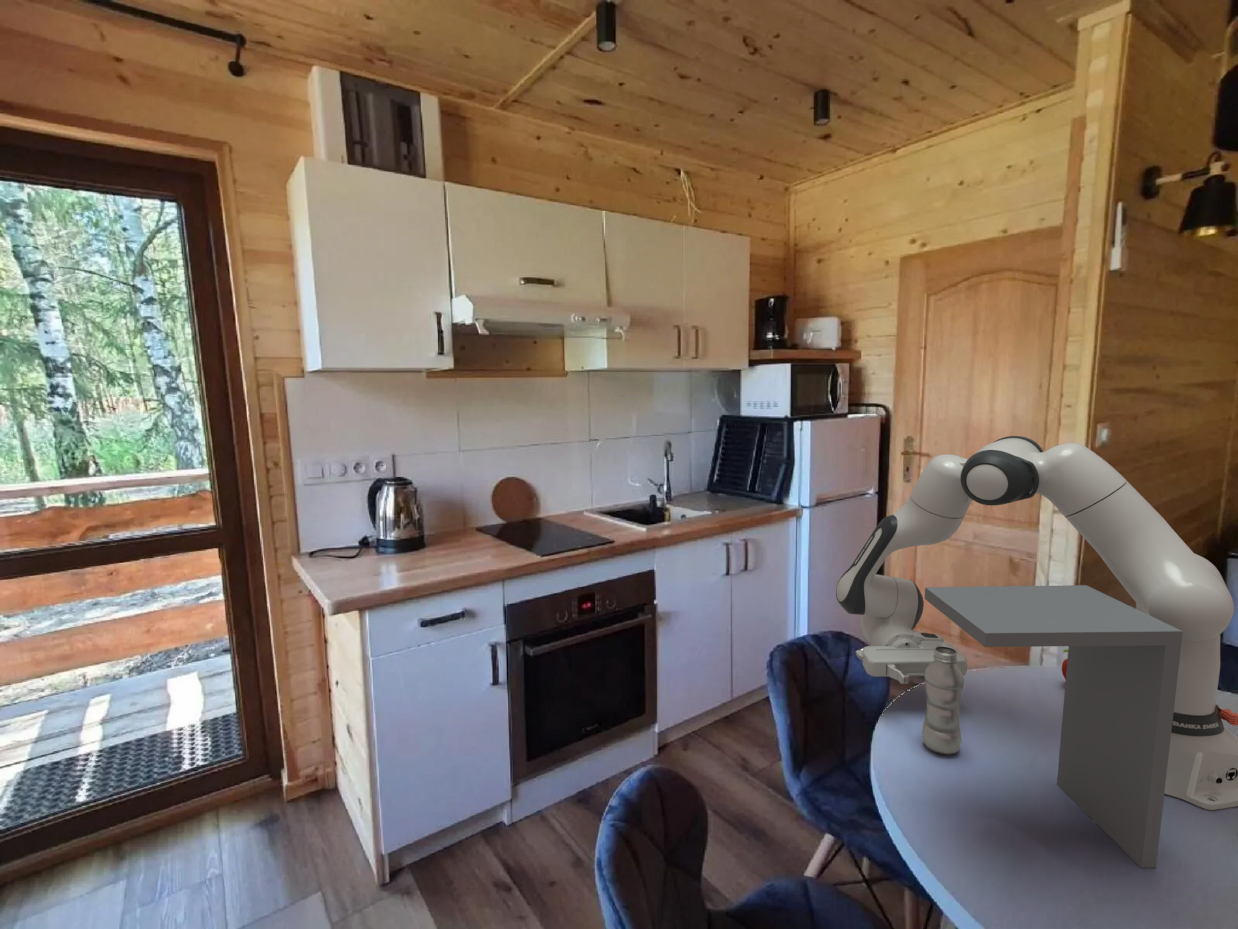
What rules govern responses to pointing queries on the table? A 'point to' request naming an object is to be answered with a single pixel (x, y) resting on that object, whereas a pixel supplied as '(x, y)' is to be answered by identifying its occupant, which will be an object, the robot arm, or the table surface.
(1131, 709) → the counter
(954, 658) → the plastic bottle
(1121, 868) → the table surface
